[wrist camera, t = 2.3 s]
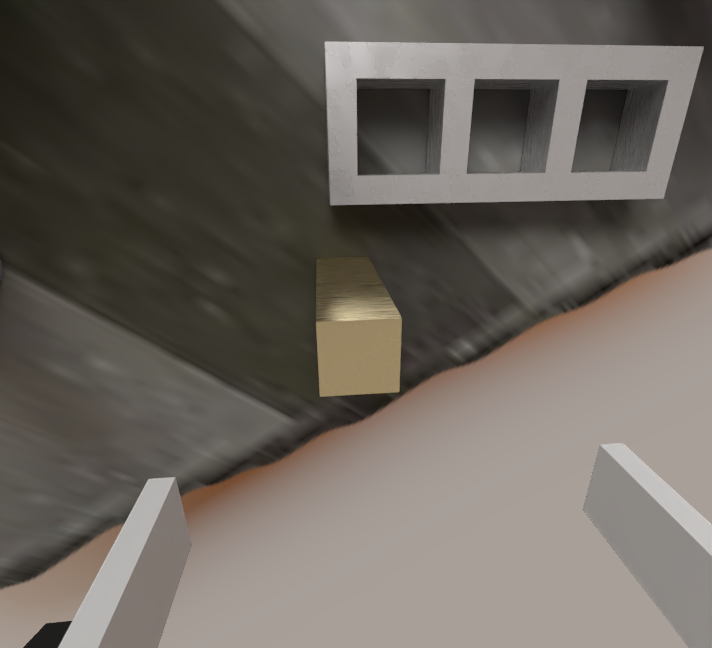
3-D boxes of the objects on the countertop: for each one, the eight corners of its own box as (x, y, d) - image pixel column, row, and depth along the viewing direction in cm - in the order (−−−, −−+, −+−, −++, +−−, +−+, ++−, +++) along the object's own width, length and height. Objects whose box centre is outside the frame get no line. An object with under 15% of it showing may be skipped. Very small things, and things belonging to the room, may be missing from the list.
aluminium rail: (328, 200, 33) (330, 205, 29) (323, 57, 29) (324, 41, 25) (626, 194, 35) (663, 198, 31) (657, 60, 31) (704, 46, 27)
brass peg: (318, 307, 36) (319, 396, 22) (316, 258, 34) (315, 321, 21) (368, 305, 36) (399, 392, 23) (368, 256, 35) (402, 318, 21)
